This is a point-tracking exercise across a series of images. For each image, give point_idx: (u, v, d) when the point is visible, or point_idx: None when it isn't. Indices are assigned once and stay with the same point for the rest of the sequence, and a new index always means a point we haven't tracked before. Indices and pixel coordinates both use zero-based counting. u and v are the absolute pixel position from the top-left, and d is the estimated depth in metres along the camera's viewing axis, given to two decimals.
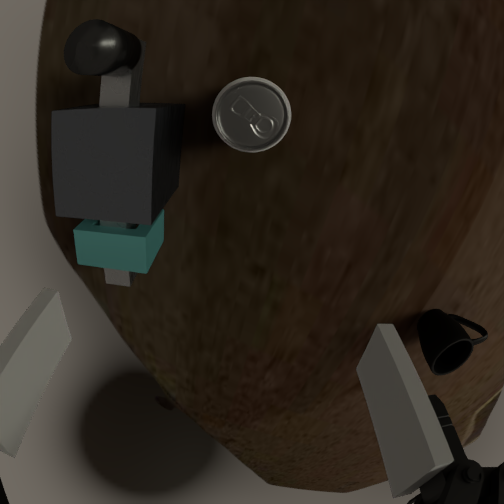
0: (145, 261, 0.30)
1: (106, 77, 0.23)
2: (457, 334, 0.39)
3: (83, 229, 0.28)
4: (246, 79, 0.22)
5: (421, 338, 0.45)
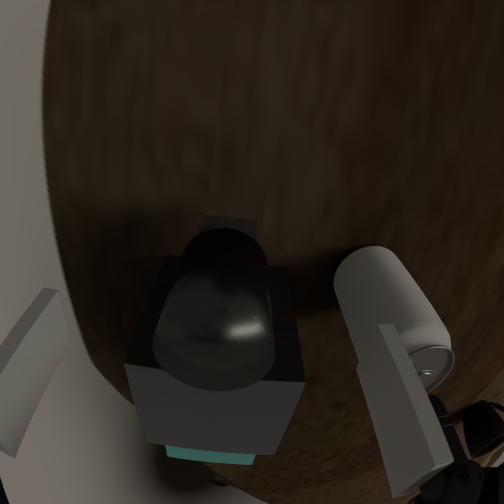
0: (252, 459, 0.24)
1: None
2: (498, 431, 0.33)
3: None
4: (421, 334, 0.16)
5: (466, 429, 0.39)
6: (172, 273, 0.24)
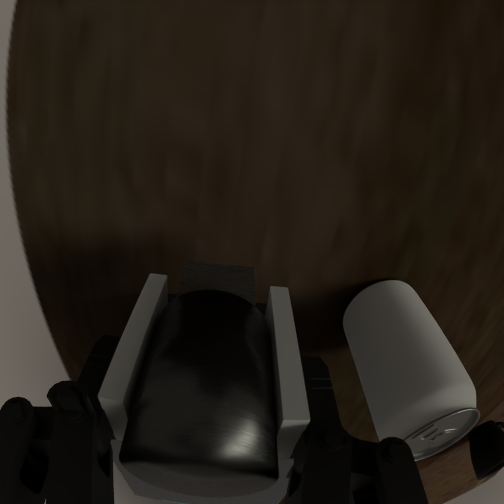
0: None
1: None
2: None
3: None
4: (447, 397, 0.12)
5: (473, 451, 0.35)
6: None
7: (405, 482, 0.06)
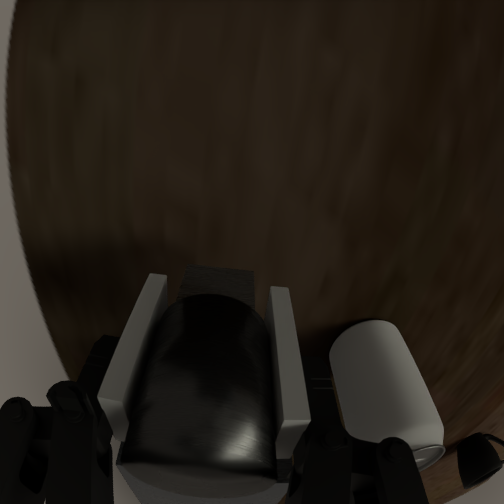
0: None
1: None
2: (491, 464, 0.31)
3: None
4: (413, 436, 0.14)
5: (460, 461, 0.37)
6: None
7: (405, 482, 0.06)
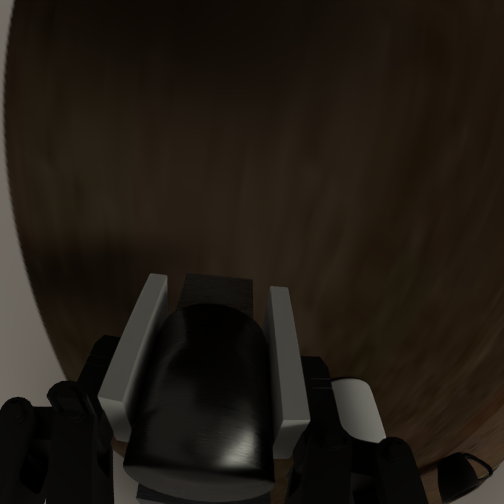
0: None
1: None
2: (468, 483, 0.34)
3: None
4: None
5: (439, 478, 0.40)
6: None
7: (405, 482, 0.06)
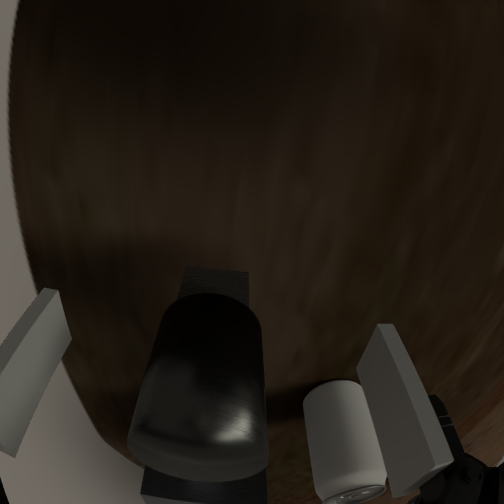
0: None
1: None
2: None
3: None
4: (356, 478, 0.19)
5: None
6: None
7: None
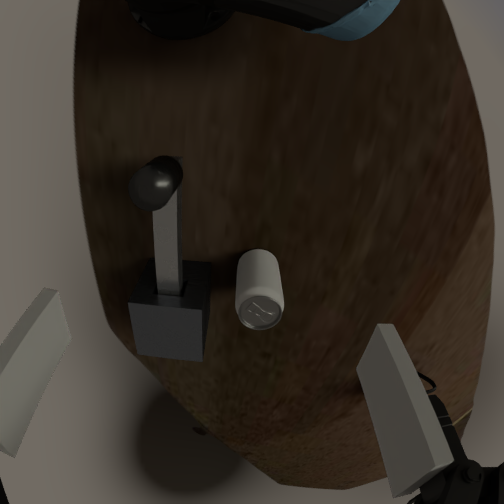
0: None
1: None
2: None
3: None
4: (255, 290, 0.40)
5: None
6: (151, 266, 0.47)
7: None
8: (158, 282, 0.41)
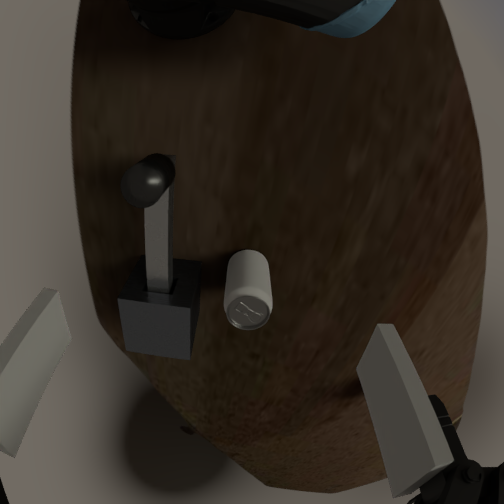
0: None
1: None
2: None
3: None
4: (244, 290, 0.40)
5: None
6: (142, 263, 0.47)
7: None
8: (148, 279, 0.41)
